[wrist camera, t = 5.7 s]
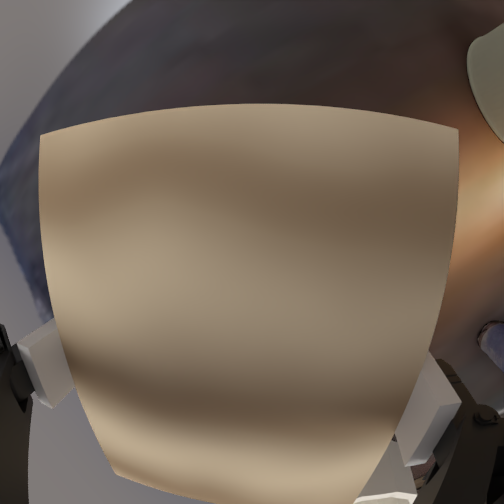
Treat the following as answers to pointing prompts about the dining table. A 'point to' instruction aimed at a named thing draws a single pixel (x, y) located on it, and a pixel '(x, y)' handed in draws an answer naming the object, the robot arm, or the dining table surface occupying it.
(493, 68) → the can
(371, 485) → the bowl
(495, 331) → the flask
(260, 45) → the dining table surface
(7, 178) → the dining table surface
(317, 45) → the dining table surface
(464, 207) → the dining table surface
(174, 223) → the wavy beige panel
